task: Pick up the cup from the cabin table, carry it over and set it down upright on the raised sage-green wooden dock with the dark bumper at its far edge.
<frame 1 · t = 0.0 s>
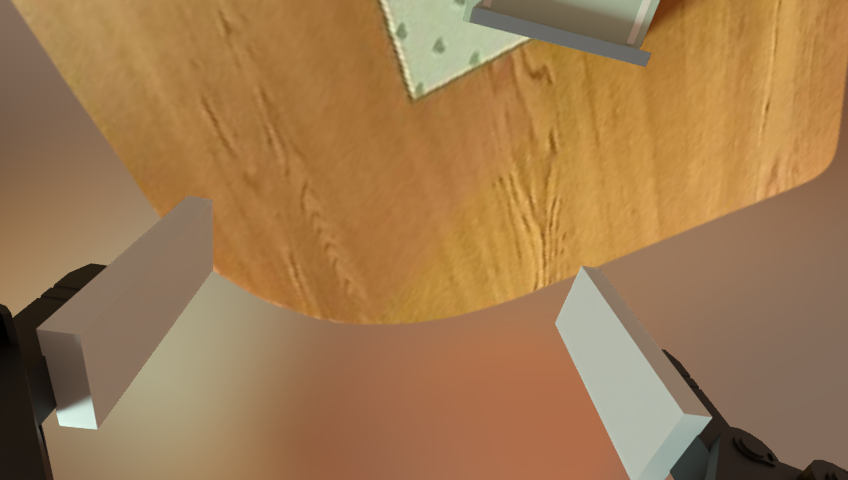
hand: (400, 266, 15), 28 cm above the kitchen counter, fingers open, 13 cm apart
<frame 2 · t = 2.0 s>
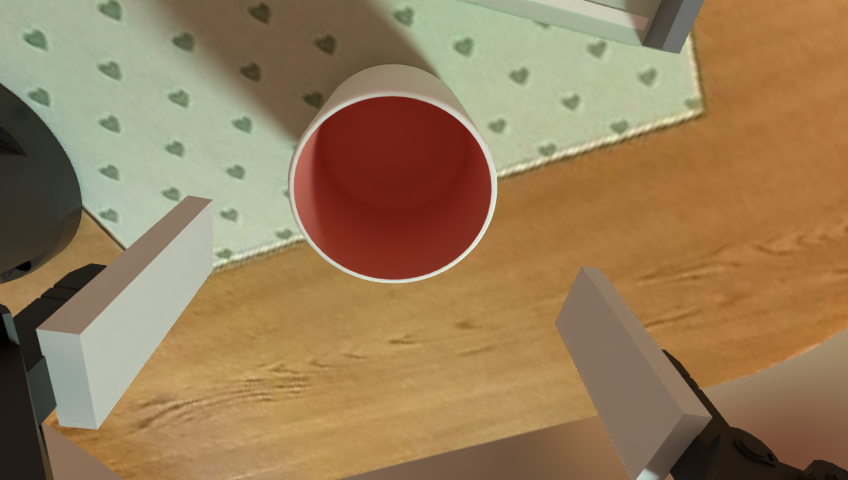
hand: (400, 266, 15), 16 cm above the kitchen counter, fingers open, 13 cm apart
cup: (395, 139, 30), on the kitchen counter
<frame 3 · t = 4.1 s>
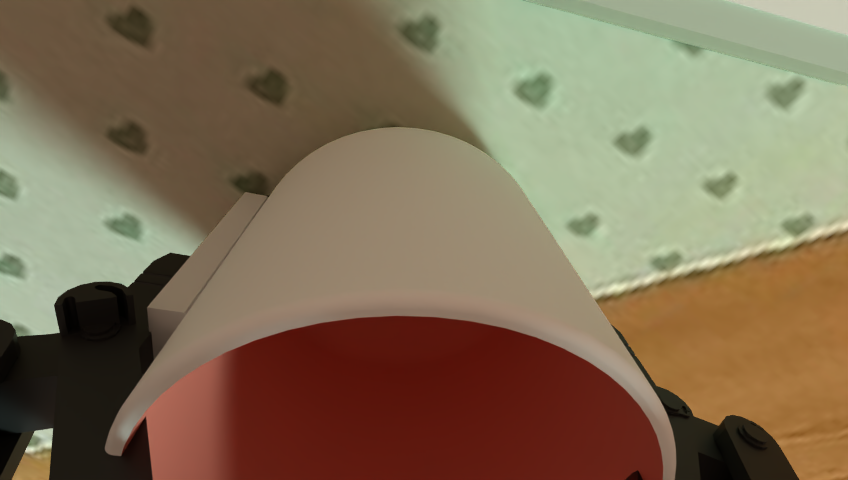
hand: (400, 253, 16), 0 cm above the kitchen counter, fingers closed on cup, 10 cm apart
cup: (400, 246, 17), on the kitchen counter, touching gripper
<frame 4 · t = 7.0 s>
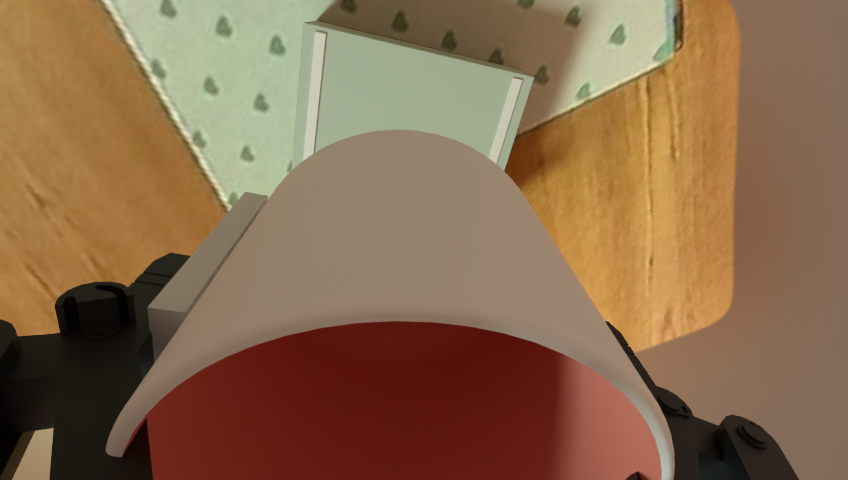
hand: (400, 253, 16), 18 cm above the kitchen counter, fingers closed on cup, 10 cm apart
dock: (403, 132, 32), on the kitchen counter
cup: (400, 248, 17), point 17 cm above the kitchen counter, touching gripper
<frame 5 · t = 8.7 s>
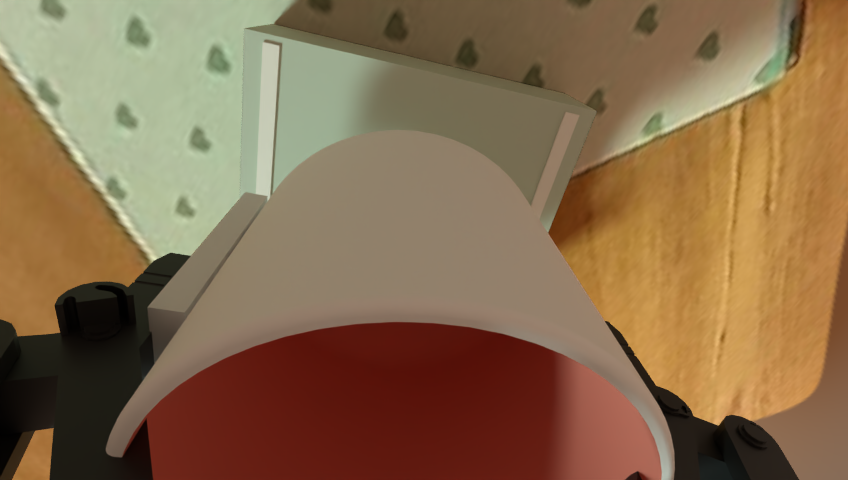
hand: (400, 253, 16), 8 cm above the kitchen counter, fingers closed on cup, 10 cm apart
dock: (401, 179, 23), on the kitchen counter
cup: (400, 249, 17), point 7 cm above the kitchen counter, touching gripper
when the fingers open (6 cm above the kitchen counter, at t = 10.1 s): cup stays where it is, resting on dock.
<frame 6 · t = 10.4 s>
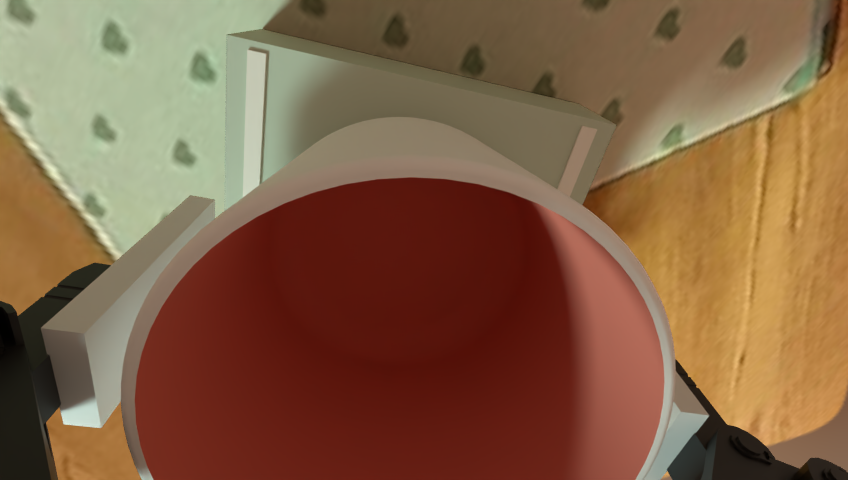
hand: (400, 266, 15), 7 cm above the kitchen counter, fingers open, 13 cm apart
dock: (401, 195, 21), on the kitchen counter
cup: (400, 242, 17), point 5 cm above the kitchen counter, touching dock
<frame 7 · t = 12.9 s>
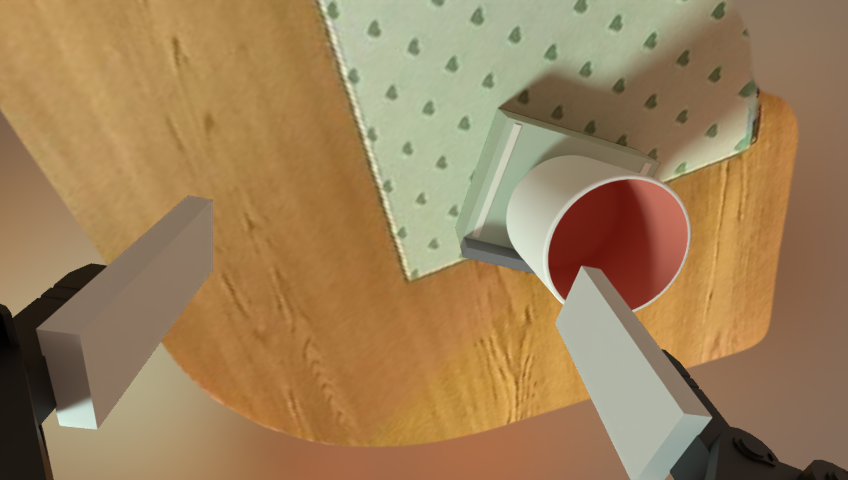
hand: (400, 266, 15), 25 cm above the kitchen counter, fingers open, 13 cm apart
dock: (543, 189, 42), on the kitchen counter
cup: (557, 210, 38), point 5 cm above the kitchen counter, touching dock
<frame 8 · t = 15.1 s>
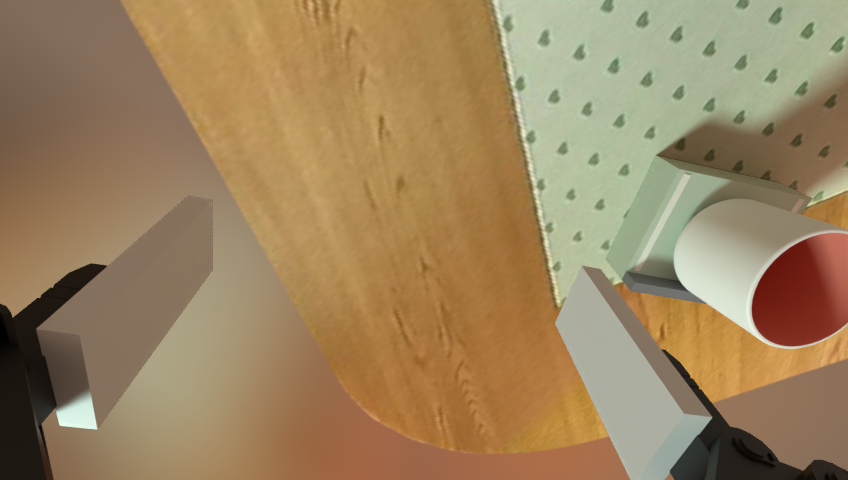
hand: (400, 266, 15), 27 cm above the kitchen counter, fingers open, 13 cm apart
dock: (689, 222, 46), on the kitchen counter
cup: (715, 244, 42), point 5 cm above the kitchen counter, touching dock
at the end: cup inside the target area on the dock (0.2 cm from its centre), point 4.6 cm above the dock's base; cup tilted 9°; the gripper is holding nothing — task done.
